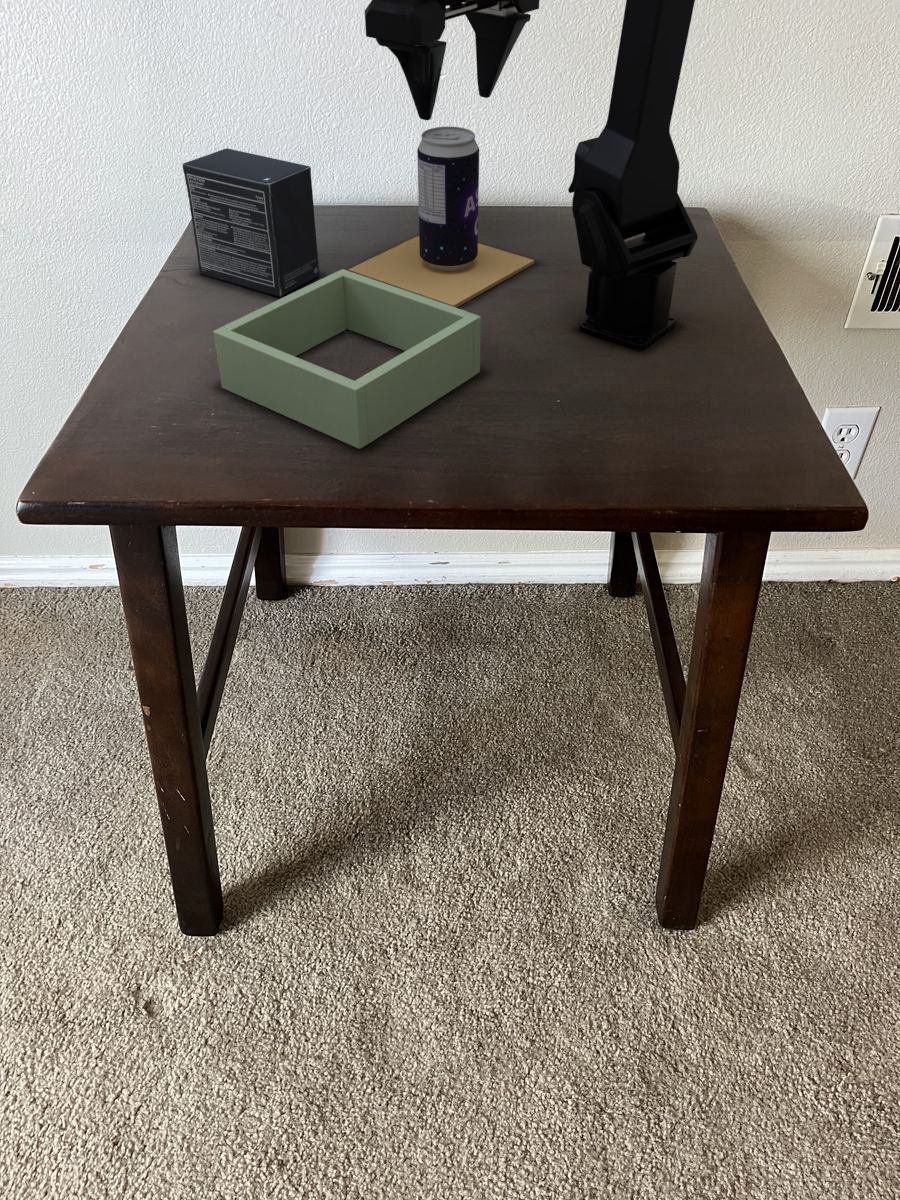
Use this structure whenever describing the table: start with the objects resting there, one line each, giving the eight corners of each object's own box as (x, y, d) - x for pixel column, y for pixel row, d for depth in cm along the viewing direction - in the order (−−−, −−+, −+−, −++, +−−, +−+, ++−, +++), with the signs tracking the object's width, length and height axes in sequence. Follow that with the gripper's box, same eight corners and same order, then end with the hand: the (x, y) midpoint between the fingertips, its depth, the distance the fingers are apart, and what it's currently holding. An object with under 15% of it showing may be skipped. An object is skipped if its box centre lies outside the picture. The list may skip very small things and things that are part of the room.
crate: (480, 372, 86) (481, 315, 83) (359, 449, 77) (355, 389, 74) (346, 322, 93) (342, 268, 90) (221, 388, 84) (212, 331, 81)
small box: (324, 275, 101) (315, 163, 94) (281, 299, 97) (268, 185, 90) (241, 251, 105) (226, 143, 98) (196, 274, 101) (178, 163, 94)
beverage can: (471, 276, 100) (473, 146, 92) (414, 272, 100) (410, 142, 93) (482, 253, 104) (484, 126, 96) (426, 249, 105) (424, 123, 97)
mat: (534, 263, 103) (534, 259, 103) (453, 309, 95) (453, 305, 95) (431, 232, 109) (431, 229, 109) (348, 273, 101) (348, 269, 101)
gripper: (449, -108, 98) (449, 73, 108) (311, -84, 87) (325, 115, 97) (547, -98, 92) (538, 91, 103) (414, -70, 81) (418, 138, 92)
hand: (455, 107), depth 99 cm, fingers open, 9 cm apart
